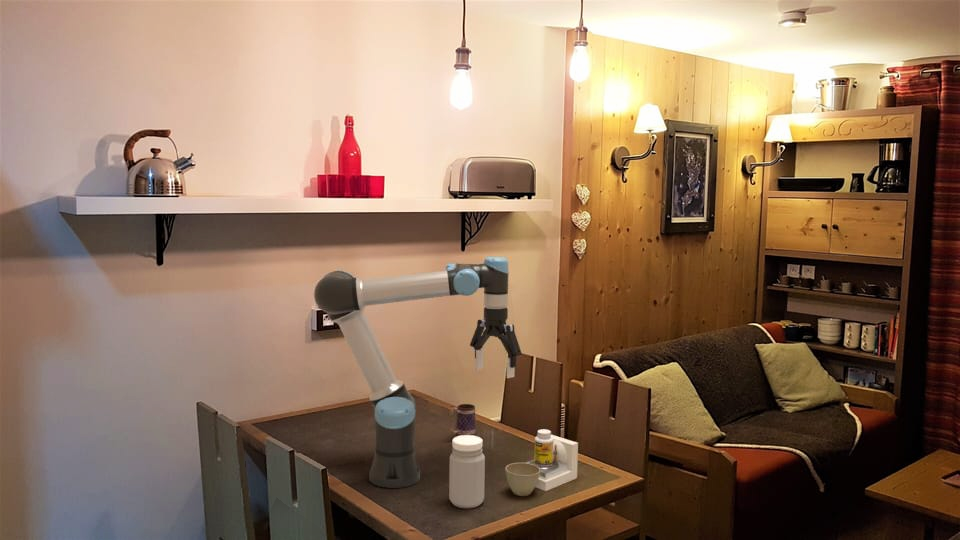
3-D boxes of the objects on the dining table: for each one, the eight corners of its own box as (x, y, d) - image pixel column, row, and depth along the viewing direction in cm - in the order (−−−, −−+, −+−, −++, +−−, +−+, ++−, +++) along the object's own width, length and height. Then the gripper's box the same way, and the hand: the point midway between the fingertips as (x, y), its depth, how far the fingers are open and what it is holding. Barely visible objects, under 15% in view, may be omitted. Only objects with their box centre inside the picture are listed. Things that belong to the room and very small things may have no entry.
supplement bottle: (531, 466, 227) (532, 432, 226) (537, 460, 232) (538, 427, 231) (549, 468, 225) (550, 435, 224) (555, 462, 230) (555, 429, 229)
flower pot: (514, 502, 213) (514, 477, 212) (499, 488, 222) (499, 465, 222) (545, 496, 217) (546, 472, 216) (529, 483, 226) (530, 460, 226)
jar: (485, 509, 208) (486, 445, 206) (449, 510, 207) (450, 445, 205) (482, 494, 218) (483, 433, 216) (448, 495, 217) (449, 434, 215)
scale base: (545, 491, 221) (546, 454, 220) (515, 479, 229) (515, 444, 228) (577, 478, 231) (578, 442, 230) (546, 467, 240) (547, 433, 238)
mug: (468, 434, 270) (469, 401, 269) (480, 439, 265) (480, 406, 263) (444, 439, 265) (444, 405, 263) (454, 445, 259) (455, 410, 258)
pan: (545, 479, 222) (545, 473, 222) (520, 470, 229) (520, 463, 229) (567, 471, 229) (567, 464, 229) (541, 462, 236) (541, 455, 236)
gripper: (533, 310, 232) (532, 378, 235) (476, 300, 250) (475, 364, 252) (517, 313, 227) (515, 383, 230) (459, 303, 245) (459, 368, 247)
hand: (494, 373), depth 241 cm, fingers open, 13 cm apart
